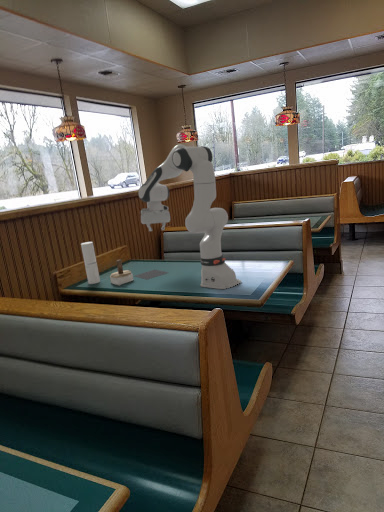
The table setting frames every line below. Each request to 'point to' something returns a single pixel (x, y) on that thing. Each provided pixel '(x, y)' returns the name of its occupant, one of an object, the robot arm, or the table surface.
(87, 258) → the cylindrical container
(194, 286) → the table surface
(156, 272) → the mat
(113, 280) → the white hollow square box
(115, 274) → the lid
